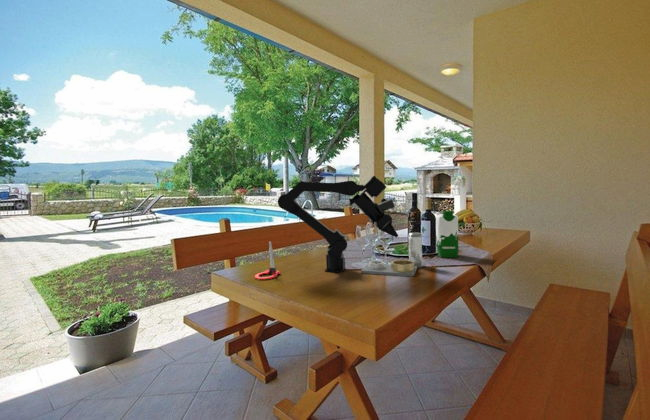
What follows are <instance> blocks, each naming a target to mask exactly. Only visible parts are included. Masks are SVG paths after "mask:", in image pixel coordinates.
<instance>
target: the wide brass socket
mask: <svg viewBox="0 0 650 420" xmlns="http://www.w3.org/2000/svg"><path fill="white" fill-rule="evenodd" d="M390 265H391V270H393V271H396V272H411V271H414V262H413V261H409V259H396V260H392V261H391V262H390Z"/></svg>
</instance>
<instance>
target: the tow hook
mask: <svg viewBox="0 0 650 420" xmlns="http://www.w3.org/2000/svg"><path fill="white" fill-rule="evenodd" d="M268 245H269V247H268V249H269V250H268V251H269V266H270V267H269V269H266V270H265V271H262V272H259V273H256V274H255V275H254V279H255V278H256V279H261V280H260V281H265V280H264V279H270V280H273V279H275V278H276V277H278V274H280V275H281V274H282V271H281V270H277V267H276V266H275V260H274V253H273V246H272V241H268ZM269 273H271V274H270V276H264V275H263V274H266V275H269ZM260 275H262V277H261V276H260ZM272 278H273V279H272ZM256 279H255V280H256ZM262 279H263V280H262Z"/></svg>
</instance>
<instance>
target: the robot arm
mask: <svg viewBox="0 0 650 420" xmlns="http://www.w3.org/2000/svg"><path fill="white" fill-rule="evenodd" d="M386 189H387V186H386V185H385V183H383V182H382V181H381V180H380V179H379V178H378V177H376V175H373V176H371V178H369V180H368V181H367V182H366V183H365V184H358V183H356V182H355V181H354V180H346V181H345V180H344V181H338V182H314V181H301V180H300V181H298V182H297V184H296V185H295V186H294V187H293V188H291V189H290V190H289V191H288V192H287V193H284V194H281V195H280V196H279V197H278V198H277V205H278V207H279V208H281V209H282V210H283V211H286V212H287V213H290V214H292V215H294V216H296V217H297V218H299V220H301V221H303V222H304V223H305V224H306V225H308V227H310V228H311V229H313V230H314V231H315V232H316V233H318V234H319V235H320V236H322V237H323V238H324V239H325V241H326V242H327V243H328V246H327V247H326V252H327V254H326V255H325V258H326V259H325V260H326V261H325V262H326V269H324V272H330V273H331V272H332V273H333V272H335V273H341V272H342V271H344V270H345V269H346V268H347V267H346V258H345V257H344V255H345V254H344V253H343V252H344V251H346V249H347V248H348V242H347V239H346V236H345V234H344V233H341V232H340V231H339V230H338V228H335V229H334V230H332V229H330V228H328V227H327V226H326V225H325V224H324V223H323V222H321V221H320V220H319V219H318V218H316V217H315V216H314V215H312V214H311V213H310V212H309V211H307V210H305V209H304V208H303V207H302V205H300V203H299V202H298V201H297V200H296V199H298V197H300V196H301V195H302V194H303V193H304V192H314V193H315V192H319V193H320V192H323V193H334V194H340V195H345V196H348V197H349V196H350V197H351V196H352V198H348V201H349V203H348V205H349V206H352V205H355V206H356V207H357V208H358V209H359V210H360V211H361V212H362V213H363V214H364V215H365V216H366V217H367V218H368V219H369V222H370V223H371V224H372V225H374V226H375V227H376V228H377V229H378V230H379V231H381V232H383V233H386V234H388V235H389V236H392V237H394V238H398V237H399V234H398V233H397V231H396V229H395V227H394V226H393V217H392V216H391V215H390V214H389V213H386V211H388V210H390V209H394V208H395V207H396V205H395V204H394V200H393V199H392V198H388V199H387V198H385V197H384V198H381V200H380V202H379V203H377V202H374V200H373V199H372V198H377V197H378V196H380V194H381V193H383V192H384V191H385V190H386ZM357 192H361V193H359V194H358V193H357Z"/></svg>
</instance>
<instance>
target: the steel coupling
mask: <svg viewBox="0 0 650 420" xmlns="http://www.w3.org/2000/svg"><path fill="white" fill-rule="evenodd" d="M407 237H408V260H409V261H413V262H414V266H417V269H419V268H422V267H423V242H422V240H423V239H422V233H421V232H409V233H408V235H407Z"/></svg>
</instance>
